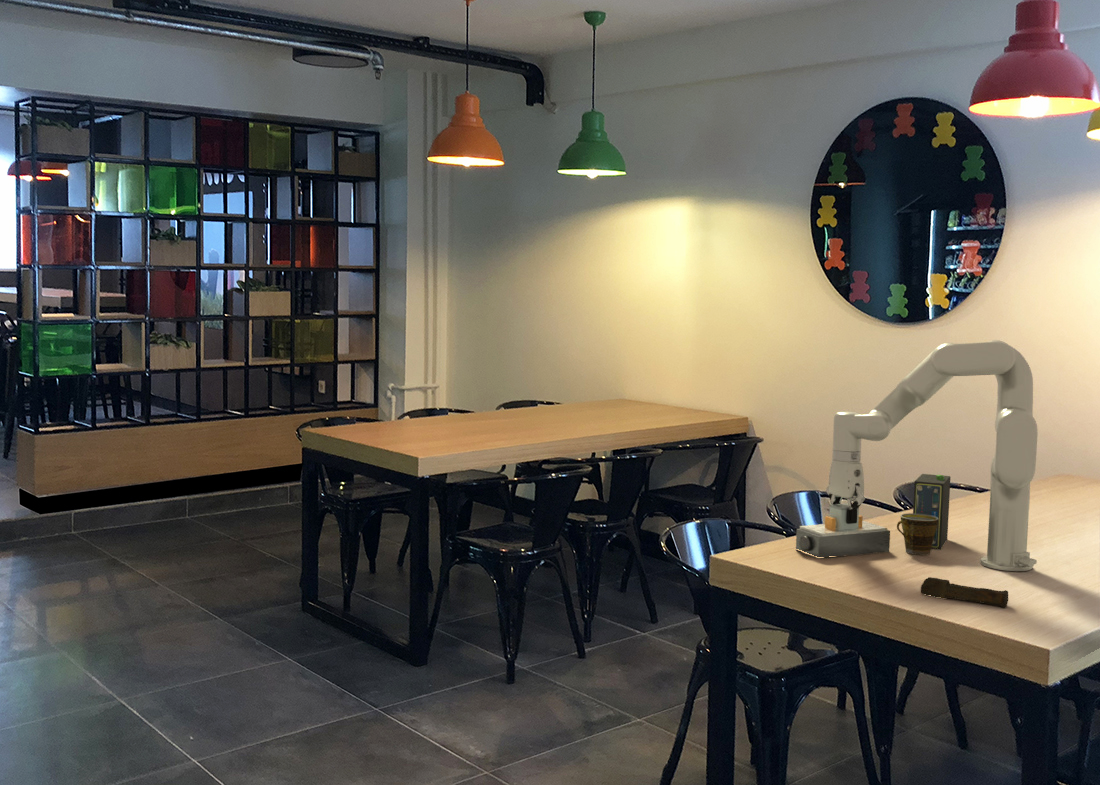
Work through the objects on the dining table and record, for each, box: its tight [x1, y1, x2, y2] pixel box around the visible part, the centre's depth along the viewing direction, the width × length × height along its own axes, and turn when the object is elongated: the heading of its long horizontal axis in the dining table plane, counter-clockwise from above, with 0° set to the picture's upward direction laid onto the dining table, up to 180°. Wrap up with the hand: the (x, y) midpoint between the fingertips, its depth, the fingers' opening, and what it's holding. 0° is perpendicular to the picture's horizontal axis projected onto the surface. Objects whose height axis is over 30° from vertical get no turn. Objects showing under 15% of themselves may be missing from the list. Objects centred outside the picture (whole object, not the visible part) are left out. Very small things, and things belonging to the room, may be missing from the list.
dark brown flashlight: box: [920, 576, 1009, 609], centre depth 239 cm, size 19×4×5 cm, turn 57°
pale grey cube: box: [829, 502, 860, 530], centre depth 285 cm, size 5×6×6 cm
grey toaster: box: [795, 514, 891, 557], centre depth 285 cm, size 10×25×10 cm, turn 112°
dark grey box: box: [912, 473, 951, 551], centre depth 297 cm, size 8×18×20 cm, turn 152°
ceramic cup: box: [896, 512, 939, 556], centre depth 285 cm, size 13×10×10 cm
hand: (843, 520), depth 285 cm, fingers open, 5 cm apart
